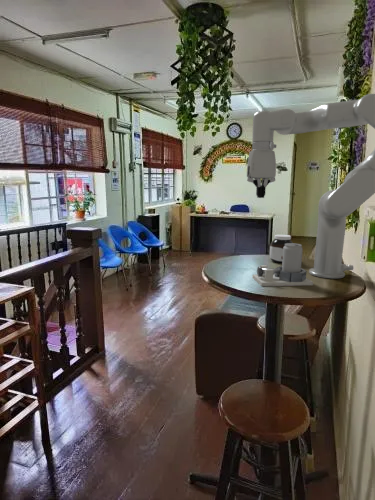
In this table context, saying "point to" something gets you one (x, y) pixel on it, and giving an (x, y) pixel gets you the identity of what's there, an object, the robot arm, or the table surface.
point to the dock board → (276, 279)
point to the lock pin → (262, 271)
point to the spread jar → (278, 247)
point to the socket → (292, 276)
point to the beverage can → (292, 258)
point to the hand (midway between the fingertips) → (260, 197)
